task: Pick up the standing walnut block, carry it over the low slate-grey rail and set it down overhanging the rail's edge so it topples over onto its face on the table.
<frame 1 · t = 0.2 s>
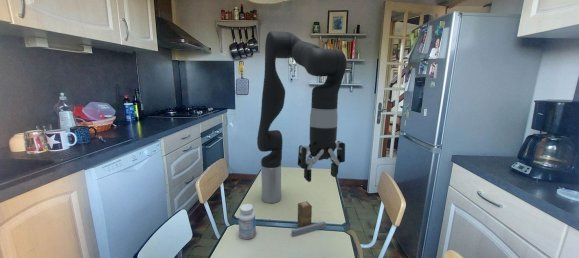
hand: (321, 178, 71), 28 cm above the table, fingers open, 8 cm apart
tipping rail: (309, 231, 93), on the table
walnut block: (304, 225, 96), on the table
pill bottle: (247, 234, 91), on the table
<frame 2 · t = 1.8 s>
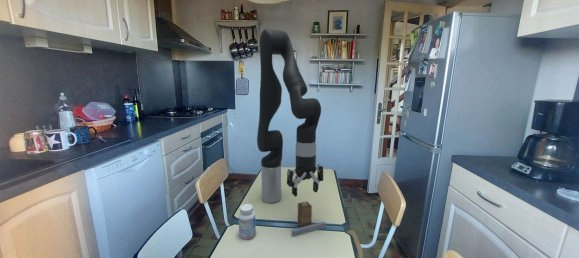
hand: (305, 193, 93), 14 cm above the table, fingers open, 8 cm apart
nothing on the table moved.
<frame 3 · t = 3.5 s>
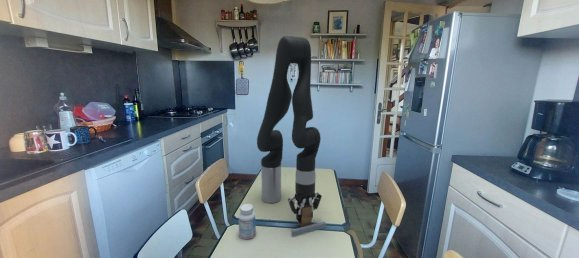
hand: (304, 220, 96), 2 cm above the table, fingers closed on walnut block, 4 cm apart
walnut block: (304, 225, 96), on the table, touching gripper
everything else where it was.
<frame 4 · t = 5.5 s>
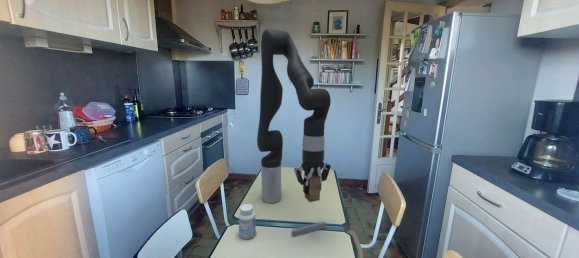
hand: (312, 192, 88), 17 cm above the table, fingers closed on walnut block, 4 cm apart
walnut block: (312, 198, 88), point 14 cm above the table, touching gripper
everything else where it was.
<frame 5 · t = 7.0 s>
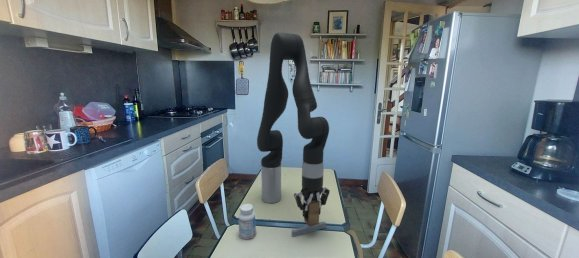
hand: (311, 216, 90), 7 cm above the table, fingers closed on walnut block, 4 cm apart
walnut block: (311, 222, 90), point 5 cm above the table, touching gripper
everything else where it was.
when the fingers open (5 cm above the table, at t = 7.8 s): walnut block drops 1 cm and tips over, point 2 cm above the table.
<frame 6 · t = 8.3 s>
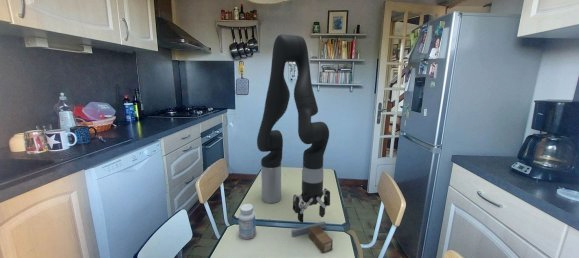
hand: (311, 218, 90), 6 cm above the table, fingers open, 8 cm apart
walnut block: (313, 231, 90), point 2 cm above the table, tilted 90°
everything else where it was.
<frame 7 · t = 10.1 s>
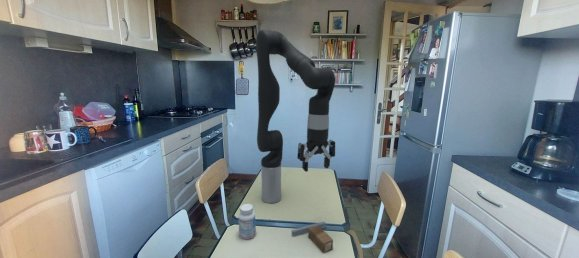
hand: (316, 169, 90), 24 cm above the table, fingers open, 8 cm apart
nothing on the table moved.
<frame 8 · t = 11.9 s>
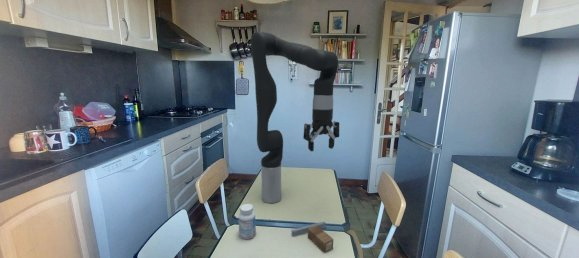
hand: (321, 149, 93), 30 cm above the table, fingers open, 8 cm apart
nothing on the table moved.
at the end: walnut block tilted 90°; walnut block inside the target area (2.9 cm from its centre), point 1.8 cm above the table; the gripper is holding nothing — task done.
